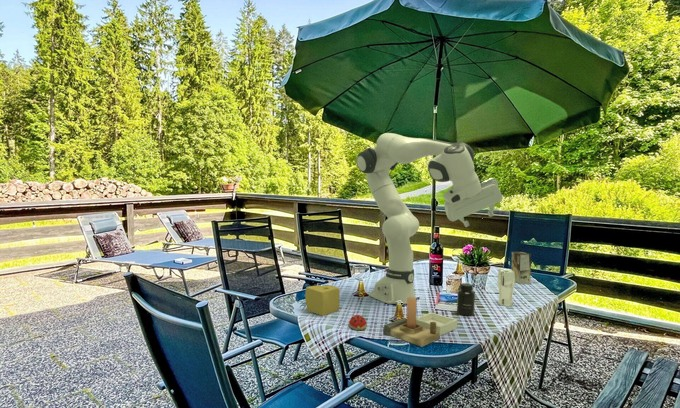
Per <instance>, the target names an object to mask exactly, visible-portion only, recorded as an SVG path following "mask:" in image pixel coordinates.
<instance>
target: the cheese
mask: <svg viewBox="0 0 680 408" xmlns="http://www.w3.org/2000/svg"><path fill="white" fill-rule="evenodd" d="M304 296H305V298H304V299H305V304H306V305H305V307H306V311H307V312H309V311H310V312H309V313H312V312H314V313H313V314H315V313H316V315H318V314H319V316H321V315H322V317H324V316H327V315H329V314H333V313H336V312H339V311H340V287H337V286H334V285H330V284H327V285H320V284H319V285H318V284H317V285H310V286H306V288H305V295H304ZM323 315H324V316H323Z"/></svg>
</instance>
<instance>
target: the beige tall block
mask: <svg viewBox="0 0 680 408" xmlns="http://www.w3.org/2000/svg"><path fill="white" fill-rule="evenodd" d="M497 270H498V272H497V287H498V293H499V294H498V295H499V296H498V300H497V304H498V305H500V306H503V307H513V306H514V303H513V293H514V289H515V284H516V282H515V274H514V271H513V270H511V269H507V268H500V269H497Z"/></svg>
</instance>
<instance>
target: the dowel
mask: <svg viewBox="0 0 680 408" xmlns="http://www.w3.org/2000/svg"><path fill="white" fill-rule="evenodd" d="M417 303H418V302H417V297H416V298H407V304H406V319H407V328H410V329H415V328H416V318H417V305H418V304H417Z"/></svg>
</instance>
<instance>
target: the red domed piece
mask: <svg viewBox="0 0 680 408" xmlns="http://www.w3.org/2000/svg"><path fill="white" fill-rule="evenodd" d="M367 325H368V323H367V320H366V319H365V318H364V317H363V315H360V314H355V315H353V316H352V317H351V318H350V319H349V321H348V326H349V328H351V329H352V330H354V331H362V330H363V331H364V330H365V329H366V328H367Z"/></svg>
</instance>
